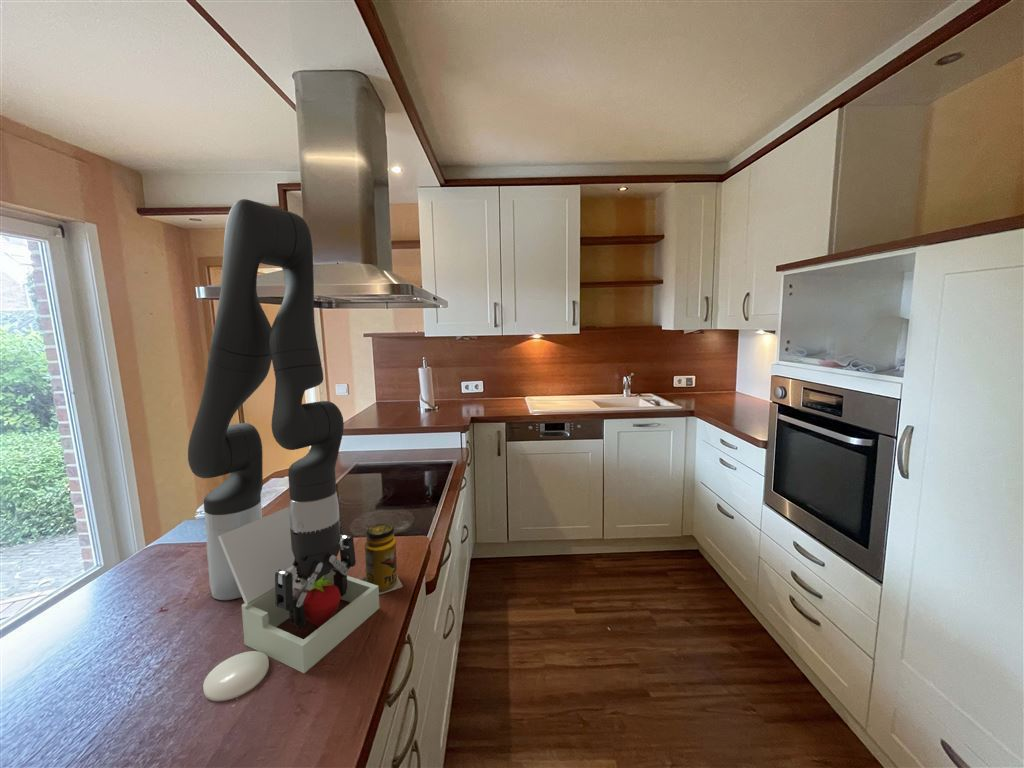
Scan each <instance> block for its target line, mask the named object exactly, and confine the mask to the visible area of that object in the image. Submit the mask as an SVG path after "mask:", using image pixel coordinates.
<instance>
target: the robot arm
mask: <svg viewBox="0 0 1024 768" xmlns="http://www.w3.org/2000/svg"><path fill="white" fill-rule="evenodd" d="M223 239H224V240H223V253H222V266H221V267H222V268H221V283H220V284H221V285H220V291H219V299H218V304H217V305H218V307H217V311H216V316H215V317H216V318H215V321H214V326H213V327H214V328H213V331H212V334H211V342H210V345H209V347H210V348H209V353H208V356H207V357H208V359H207V368H206V374H205V378H204V379H205V380H204V386H203V390H202V395H201V399H200V402H199V407H198V411H197V413H196V416H195V420H194V423H193V425H192V426H193V427H192V430H191V433H190V437H189V441H188V447H187V462H188V466H189V468H190V471H191V472H192V473H193V474H194V475H195V476H196V477H197V478H200V479H211V478H216V477H221V476H225V475H228V474H229V475H228V476H227V478H225V480H224V481H222V483H220V484H219V485H217V486H216V487H214V488H213V489H212V490H210V491H209V492H208V493H206V495H205V496H204V498H203V510H204V521H205V532H206V533H205V534H206V545H205V546H206V547H205V548H206V557H207V569H208V581H209V588H210V589H209V590H210V593H211V596H212V598H213V599H216V600H218V601H231V600H235V599H240V598H242V595H241V593H240V590H239V588H238V585H237V583H236V580H235V578H234V575H233V573H232V571H231V568H230V566H229V563H228V561H227V558H226V556H225V553H224V551H223V548H222V546H221V543H220V541H219V539H218V536H220V535H222V534H225V533H227V532H230V531H232V530H234V529H237V528H239V527H242V526H244V525H246V524H249V523H251V522H254V521H256V520H258V519H261V518H263V512H262V511H263V510H262V490H263V486H264V482H263V481H264V480H263V472H264V471H263V468H264V467H263V466H264V465H263V463H264V462H263V461H264V460H263V458H264V457H263V455H264V454H263V443H262V442H263V441H262V439H261V435H260V433H259V431H258V430H257V428H256V426H254V425H253V424H251V423H248V422H241V423H234V424H230V423H231V421H232V419H233V418H234V415H235V414H236V412H237V411H238V410H239V409H240V407H242V405H244V403H245V402H246V401H247V400H248V399H249V398H250V397H251V396H252V395H253V394H254V392H255V391H257V390H258V388H259V387H260V386H261V385H262V383H263V382H264V381H265V380H266V378H267V376H268V375H269V372H270V368H271V364H272V366H273V372H274V377H275V378H274V379H275V388H274V400H273V409H272V415H271V432H272V435H273V438H274V440H275V442H276V443H277V444H278V445H279V446H280V447H281V448H283V449H285V450H287V451H288V450H289V451H295V450H301V449H302V448H307V447H309V451H308V453H306V455H305V456H303V457H301V458H299V459H298V460H296V461H294V462H292V463H291V464H290V466H289V468H288V473H287V475H288V488H289V489H288V490H289V506H288V507H289V518H290V533H291V547H292V552H293V554H294V563H293V566H292V567H290V568H288V569H286V570H281V569H279V570H277V571H276V573H275V605H276V607H280V608H282V609H284V610H287V611H289V616H290V618H289V622H290V624H291V625H293V626H296V627H298V628H302V627H303V626H305V625H306V618H305V609H304V604H303V601H304V599H305V597H306V595H307V593H308V592H309V591H311V589H312V586H313V584H314V582H316V581H318V580H319V579H320V578H321V577H322V576H324V575H327V574H328V573H330V570H332V571H333V572H335V573H336V574H334V575H333V577H334V585H335V586H337V587H338V589H339V592H340V595H341V596H343V595H345V594H346V590H347V576H348V573H349V570H350V569H351V568H354V567H355V566H356V561H357V560H356V552H355V542H354V537H353V536H350V535H347V534H343V533H342V534H341V524H340V506H339V498H338V494H337V484H336V483H337V482H336V481H337V480H336V477H337V476H336V465H337V461H338V458H339V457H338V456H339V452H340V448H341V443H342V439H343V434H344V424H345V423H344V417H343V414H342V411H341V410H340V408H339V407H338V406H337V405H336V404H335V403H334V402H332V401H328V400H322V401H321V400H320V401H315V402H308V403H303V398H304V395H305V392H306V391H308V390H310V389H312V388H316V387H318V386H320V385H321V384H322V383H323V381H324V370H323V367H322V360H321V355H320V350H319V349H320V348H319V343H318V339H317V333H316V323H315V305H314V304H315V294H314V293H315V291H314V287H315V285H314V284H315V283H314V281H315V279H314V278H315V277H314V276H315V275H314V250H313V249H314V248H313V239H312V235H311V231H310V228H309V225H308V224H307V222H306V221H305V219H304V218H303V217H302V216H301V215H299V214H297V213H294V212H292V211H289V210H286V209H283V208H282V209H281V208H278V207H275V206H271V205H268V204H264V203H262V202H259V201H255V200H251V199H248V198H241V199H239V200H237V201H235V202H234V203H233V204H232V206H231V208H230V209H229V213H228V215H227V218H226V223H225V228H224V238H223ZM260 265H266V266H267V265H268V266H273V267H279V268H281V270H282V273H283V277H284V282H285V291H284V296H283V298H282V302H281V304H280V307H279V309H278V311H277V313H276V316H275V318H274V320H273V323H272V325H271V323H270V321H269V319H268V317H267V315H266V313H265V311H264V309H263V306H262V304H261V303H260V300H259V296H258V292H257V284H258V283H257V279H258V273H259V271H258V270H259V267H260ZM338 554H340V559H338ZM294 575H295V577H294ZM302 578H303V579H304V580H306V583H305V584H301V579H302ZM299 590H300V592H299V594H298V597H296V595H297V593H298V591H299Z"/></svg>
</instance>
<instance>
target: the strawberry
mask: <svg viewBox="0 0 1024 768" xmlns="http://www.w3.org/2000/svg"><path fill="white" fill-rule="evenodd" d="M324 577H325V576H323V577H322V578H321V579H319V580H318V581H316V582H314V584H313V586H312V589H311V591H309V592H308V593H307V595H306V597H305V599H304V601H303V604H304V609H305V620H307V621H309V622H310V623H312V624H313V625H315V627H317V628H319V627H320V626H322V625H323V624H324V623H326V622H327V621H328V620H329V619H331V618H332V617H333V616H334V614H335V612H336V611H337V610H338V608H339V605H340V601H341V599H340V598H341V595H340V592H339V589H338V587H337V586H335V585H334V584H332V583H330V582H329V581H330V580H332V579H329V580H323V579H324ZM322 580H323V581H322ZM298 594H299V593H298ZM297 597H298V595H297Z"/></svg>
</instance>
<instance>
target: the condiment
mask: <svg viewBox="0 0 1024 768" xmlns="http://www.w3.org/2000/svg"><path fill="white" fill-rule="evenodd" d="M394 532H395V529H394V526H393V525H391V524H389V523H377V524H373V525H372V526H369V528H368V529H367V530H366V539H365V540H366V542H365V544H364V552H365V553H364V554H365V556H364V557H365V576H364V577H362V578H358V579H359V580H362V581H365V582H368V583H371V584H374V585H377V586H379V595H383V594H386V593H389V592H393V591H395V590H397V589H401V588H403V587H404V585H403V583H402V582H401V580H400V579H399V578H398V573H397V572H398V568H397V566H398V565H397V558H398V557H397V540H396V538H395V533H394Z"/></svg>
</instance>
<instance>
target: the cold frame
mask: <svg viewBox="0 0 1024 768" xmlns="http://www.w3.org/2000/svg"><path fill="white" fill-rule="evenodd" d="M218 539H219V541H220V543H221V546H222V548H223V551H224V553H225V556H226V558H227V561H228V563H229V566H230V568H231V571H232V573H233V575H234V578H235V580H236V583H237V585H238V588H239V590H240V593H241V595H242V597H241V599H243V602H244V603H242V604H241V616H242V628H243V630H242V631H243V641H244V643H243V644H244V645H245V646H247V647H249V648H251V649H253V650H254V651H259V652H262V653H264V654H266V655H267V657H268V658H271V659H273V660H275V661H277V662H279V663H282V664H284V665H286V666H287V667H290V668H291V669H294V670H296V671H298V672H300V673H302V674H306V673H307V672H308V671H309V670H310V669H311V668H312V667H314V666H315V665H316V664H317V663H318V662H319V661H320V660H322V659H323V658H324V657H325V656H327V655H328V654H329V653H330V652H331V651H332V650H333V649H334V648H336V647H337V646H338V645H339V644H340V643H341V642H342V641H344V639H346V638H347V637H348V636H349V635H350V634H352V633H353V632H354V631H355V630H356V629H357V628H359V627H360V626H362V624H363V623H364V622H365V621H366V620H368V619H369V618H370V617H371V616H373V615H374V613H376V612H377V611H378V610H379V609H380V594H379V586H377V585H374V584H371V583H368V582H365V581H362V580H359V579H360V578H355V577H352V576H350V575H347V590H346V594H345V595H343V596H341V598H340V600H342V601H346V602H348V603H349V604H347V605H346V606H345V607H344V608H342V609H341V610H340V611H339V612H337V613H336V614H335V615H332V617H331V618H330V619H329V620H328V621H327V622H326V623H324V624H323V625H322V626H320V627H317V629H314V631H313V632H311V633H310V634H309V635H307V636H306V637H305V638H304V639H303V638H301V637H299V636H296V635H294V634H292V633H290V632H288V631H285V630H283V629H281V628H279V626H280V625H281V624H282V623H284V622H286V621H287V620H288V619H290V616H289V611H287V610H284V609H282V608H280V607H276V605H275V573H276V571H277V570H279V569H281V570H286V569H288V568H290V567H292V566H293V563H294V554H293V552H292V547H291V533H290V518H289V506H288V507H285V508H282V509H280V510H278V511H275V512H273V513H270V514H268V515H265V516H262V518H261V519H258V520H256V521H254V522H251V523H249V524H246V525H244V526H242V527H239V528H237V529H234V530H232V531H230V532H227V533H225V534H222V535H220V536H218ZM334 574H336V573H335V572H333V571H332V570H330V573H328V574H327V575H324V576H325V577H324V579H323V580H329V579H332V580H330V581H329V582H330V583H332V584H334V577H333V575H334ZM294 577H295V575H294ZM322 577H323V576H322ZM322 577H321V578H322ZM321 578H320V579H321ZM323 580H322V581H323ZM305 583H306V580H304V579H303V578H302V579H301V584H305ZM299 592H300V590H299V591H298V593H299ZM298 593H297V595H298ZM297 595H296V597H297Z"/></svg>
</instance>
